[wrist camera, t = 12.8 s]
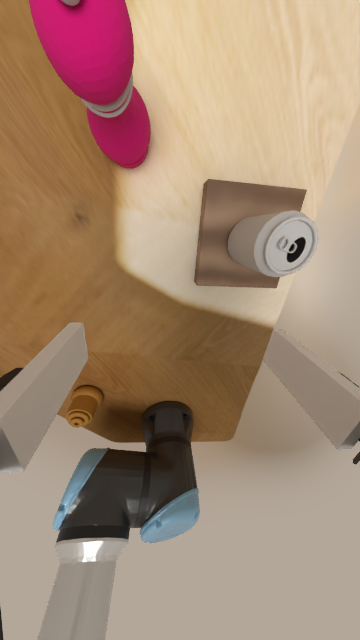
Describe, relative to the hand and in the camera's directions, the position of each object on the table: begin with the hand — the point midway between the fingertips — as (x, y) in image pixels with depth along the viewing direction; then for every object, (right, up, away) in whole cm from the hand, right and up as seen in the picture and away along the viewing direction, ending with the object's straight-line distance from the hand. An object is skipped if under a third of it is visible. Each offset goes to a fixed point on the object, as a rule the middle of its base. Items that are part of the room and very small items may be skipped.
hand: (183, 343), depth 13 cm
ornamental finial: (-24, -18, +35) cm, 46 cm away
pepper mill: (-8, +28, +14) cm, 32 cm away
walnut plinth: (+11, +16, +21) cm, 29 cm away
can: (+11, +15, +18) cm, 27 cm away
